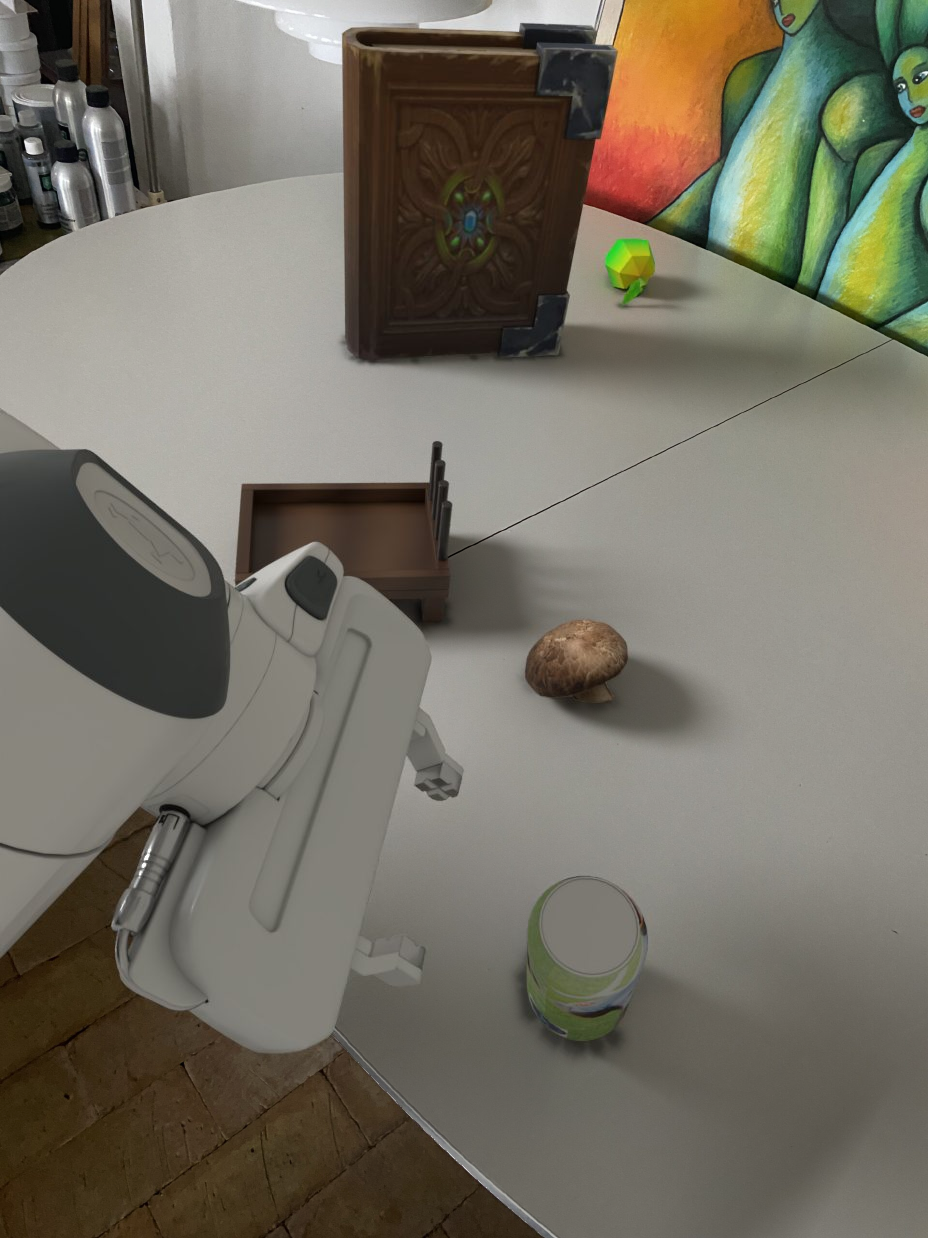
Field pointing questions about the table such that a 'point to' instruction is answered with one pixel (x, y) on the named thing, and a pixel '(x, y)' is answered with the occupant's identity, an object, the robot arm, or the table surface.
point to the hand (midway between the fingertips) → (433, 871)
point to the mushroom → (577, 661)
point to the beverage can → (584, 956)
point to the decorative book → (466, 184)
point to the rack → (357, 531)
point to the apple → (630, 266)
